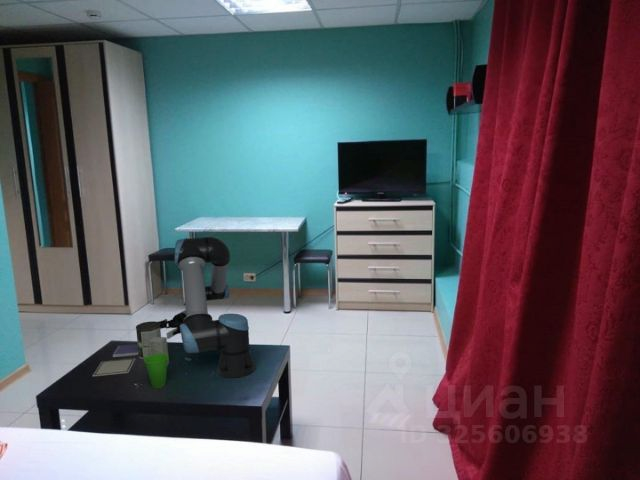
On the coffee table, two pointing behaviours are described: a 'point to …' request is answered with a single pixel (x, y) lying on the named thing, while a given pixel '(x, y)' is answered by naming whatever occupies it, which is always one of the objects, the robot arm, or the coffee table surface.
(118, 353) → the ink pad
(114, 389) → the coffee table surface
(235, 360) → the robot arm
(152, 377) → the cup
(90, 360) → the coffee table surface
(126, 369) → the cream square tile
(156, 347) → the skincare box
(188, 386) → the coffee table surface
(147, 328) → the coffee can
